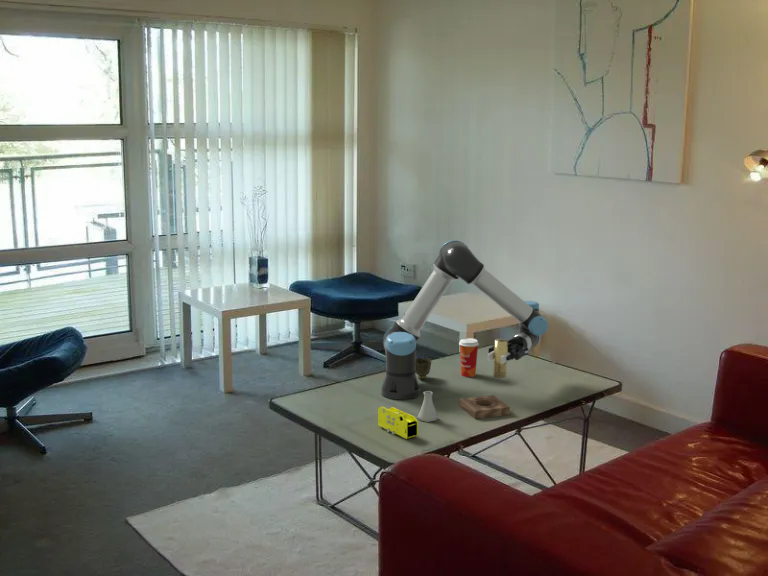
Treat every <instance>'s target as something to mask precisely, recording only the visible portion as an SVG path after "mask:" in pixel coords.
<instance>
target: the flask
mask: <svg viewBox="0 0 768 576" xmlns="http://www.w3.org/2000/svg"><path fill="white" fill-rule="evenodd" d="M433 394H434V392H433V391H431V390H426V391H423V396H424V397H423V401H422V404H421V408H420V410H419V413H418V415H417V418H416V419H418V420H420V421H421V422H425V423H426V422H428V423H429V422H430V423H431V422H435V421H437V420H438V419H439V417H438V413H437V410H436V408H435V405H434V401H433Z"/></svg>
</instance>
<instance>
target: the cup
mask: <svg viewBox="0 0 768 576" xmlns="http://www.w3.org/2000/svg"><path fill="white" fill-rule="evenodd" d="M431 366H432V359H430V358H429V357H428V358H427V357H425V359H423V357H421V358H420V357H418V358H417V357H416V369H415V374H416V376H417V378H418V379H419V380H425V379H427V377H428V375H429V373H430V371H431Z"/></svg>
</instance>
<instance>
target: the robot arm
mask: <svg viewBox="0 0 768 576" xmlns="http://www.w3.org/2000/svg"><path fill="white" fill-rule="evenodd" d="M440 247H441V248H440V249H439V252H438V255H437V258H436V259H435V260H434V262H433V264H432V266H433V270H432V272H431V274H430V275H429V277H428V279H427V280H426V281H425V283H424V284H423V286H422V287H421V289H420V291H419V292H418V294H417V295H416V296H415V298H414V300H413V301H412V302H411V304H410V305H409V307H408V309H407V310H406V312H405V313H404V314H403V316H402V318H401V319H396V321H395V322H394V323H393V325H392V327H390V328H388V330H387V331H386V332H385V333H384V335H383V349H384V351H385V376H384V379H383V383H382V384H381V385H382V386H381V392H380V394H381V395H382V396H383V397H384V398H387V399H392V400H409V399H413V398H414V399H415V398H417V397H418V396H419V395H421V394H420V393H421V391H420V390H421V389H420V388H421V387H420V385H419V380H418V379H417V378H418V377H417V374H416V372H415V369H416V358H417V356H416V354H417V353H416V351H417V350H416V349H417V348H416V347H417V342H418V340H419V339H420V337H421V331H420V330H421V329H422V328H423V326H424V325H425V323H426V321H427V320H428V318H429V317H430V315H431V314H432V313H433V311H434V310H435V308H436V307H437V305H438V303H439V302H440V300H441V299H442V297H443V295H444V294H445V293H446V291H447V290H448V288H449V286H450V285H451V284H452V282H455V281H458V280H459V279H460V280H462V281H463V282H465V283H466V284H467V285H472V286H474V287H475V288H477V290H479V291H480V292H481V293H482V294H484V295H485V296H487V298H489V299H490V300H491V301H492V302H494V304H496V305H498V306H499V307H500V308H501V309H502V310H503V311H505V312H506V313H507V314H509V315H510V316H511V317H512V318H513V319H515V320H516V321H518V322H519V326H518V327H519V328H518V334H515V335H514V336H513V337H511V338H510V339H509V340H508V352H507V354H505V355H503V356H501V364H503V363H505V362H507V363H508V361H511V360H515V361H518V360H520V359H522V358H523V357H525V356H527V355H529V350H531V349H533V348H535V347H536V346H537V345H538V344H539V343H540V342H541V338H542V337H541V336H542V335H544V334H545V333H547V331H548V330H549V329H548V328H549V323H548V321H547V319H546V317H544V316H543V315H542V314H541V313H540V304H539V302H536V301H533V300H523V299H522V298H521V297H520V296H518V295H517V294H516V293H514V292H513V291H512V290H511V289H510V288H509V287H507V286H506V285H505V284H504V283H503V282H501V281H500V280H499V279H498V278H496V277H495V276H494V275H493V274H491V272H489V271H488V270H487V269H485V265H484V263H482V262H481V261H480V260H479V259H478V258H477V257H476V255H475V254H474V253H473V252H472V251H471V249H470V248H469V246H467V244H465V243H464V242H462V241H460V240H458V239H457V240H454V239H451V240H448V241H447V242H445V243H444V244H442V246H440ZM494 346H495V344H494V345H492V346H491V347H489V348H488V350H487V351H488V352H487V354H486V355H487V357H486V362H490V361H492V360H494Z"/></svg>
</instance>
